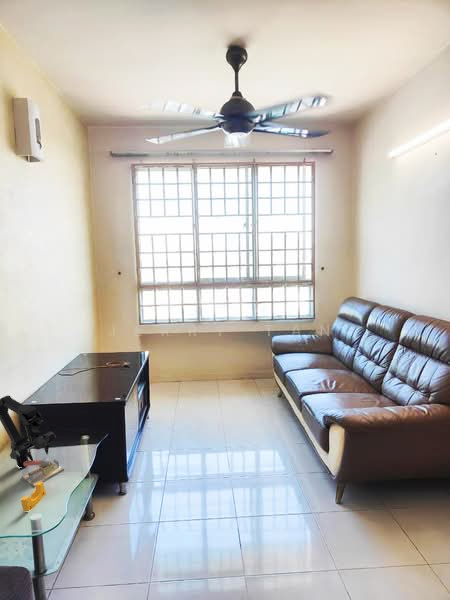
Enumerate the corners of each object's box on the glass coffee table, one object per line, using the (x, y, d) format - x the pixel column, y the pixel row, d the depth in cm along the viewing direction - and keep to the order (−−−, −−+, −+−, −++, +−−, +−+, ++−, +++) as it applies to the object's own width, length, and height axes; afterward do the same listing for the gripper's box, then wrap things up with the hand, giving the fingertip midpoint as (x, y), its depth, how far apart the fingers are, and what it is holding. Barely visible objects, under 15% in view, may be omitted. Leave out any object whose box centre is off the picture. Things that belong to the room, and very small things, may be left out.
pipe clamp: (38, 494, 178) (34, 482, 177) (46, 494, 178) (42, 482, 177) (20, 513, 167) (17, 500, 166) (29, 512, 166) (25, 499, 165)
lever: (22, 468, 194) (21, 464, 194) (27, 463, 198) (26, 459, 198) (47, 466, 192) (46, 462, 192) (51, 461, 196) (50, 457, 196)
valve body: (28, 480, 191) (26, 472, 190) (55, 465, 201) (53, 457, 200) (33, 483, 187) (31, 475, 186) (60, 468, 197) (58, 460, 196)
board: (22, 477, 196) (21, 475, 195) (50, 462, 207) (50, 460, 206) (34, 486, 185) (34, 485, 185) (64, 470, 196) (63, 468, 196)
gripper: (20, 444, 185) (28, 472, 188) (57, 426, 199) (64, 452, 202) (11, 438, 193) (19, 466, 195) (47, 421, 206) (54, 447, 209)
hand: (40, 458), depth 200 cm, fingers open, 7 cm apart
